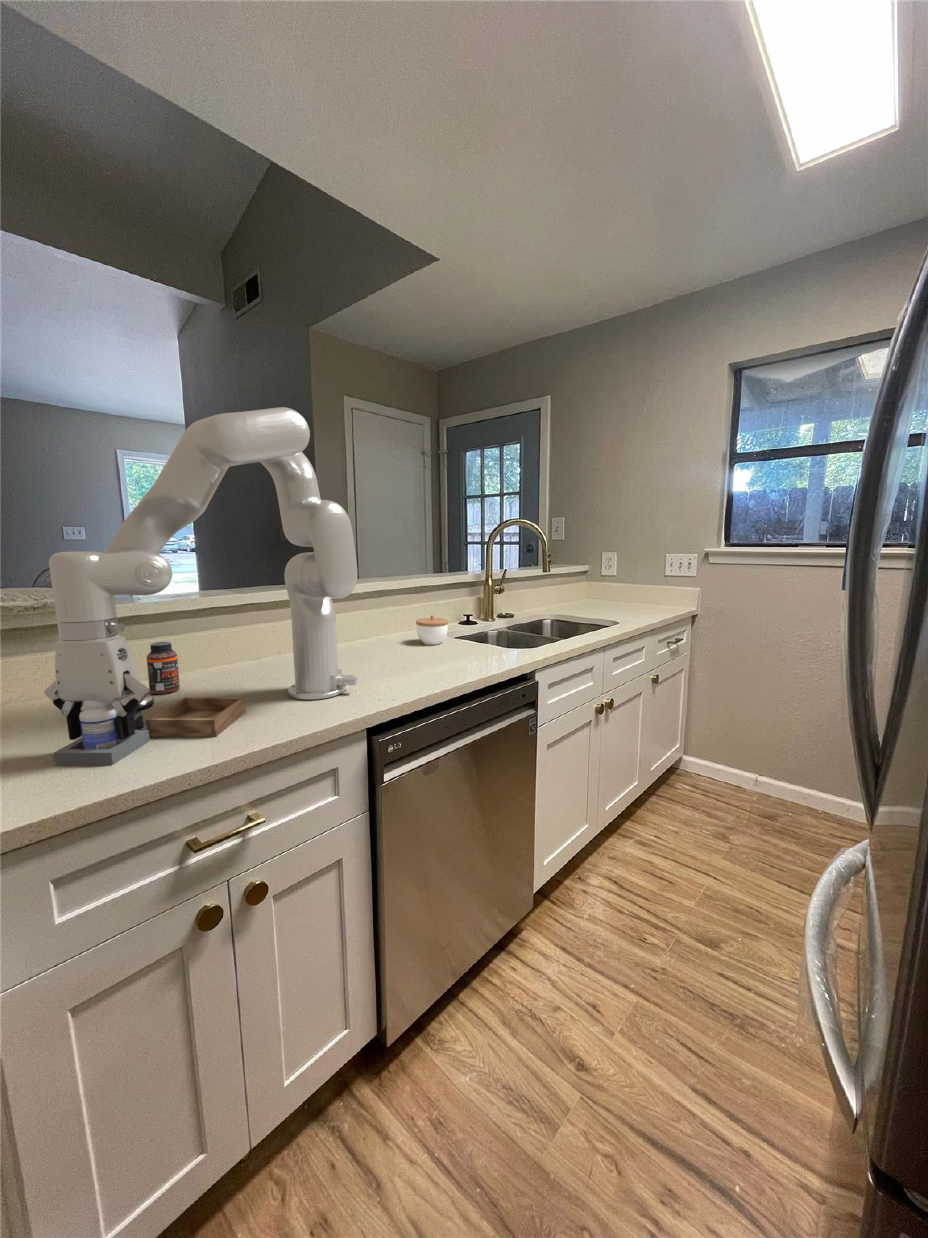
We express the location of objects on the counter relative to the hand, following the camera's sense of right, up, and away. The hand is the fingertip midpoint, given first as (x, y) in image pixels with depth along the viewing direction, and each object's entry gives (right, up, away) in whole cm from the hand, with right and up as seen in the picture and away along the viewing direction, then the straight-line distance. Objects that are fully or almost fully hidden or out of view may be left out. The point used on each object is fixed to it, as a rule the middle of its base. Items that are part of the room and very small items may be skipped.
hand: (102, 736), depth 80 cm
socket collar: (0, -3, +1) cm, 3 cm away
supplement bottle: (-9, +2, +32) cm, 34 cm away
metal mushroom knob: (-1, -1, +10) cm, 10 cm away
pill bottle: (0, -3, +1) cm, 3 cm away
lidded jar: (+49, +11, +83) cm, 97 cm away
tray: (+9, -1, +13) cm, 16 cm away
